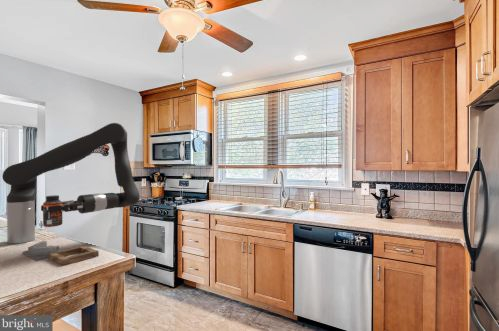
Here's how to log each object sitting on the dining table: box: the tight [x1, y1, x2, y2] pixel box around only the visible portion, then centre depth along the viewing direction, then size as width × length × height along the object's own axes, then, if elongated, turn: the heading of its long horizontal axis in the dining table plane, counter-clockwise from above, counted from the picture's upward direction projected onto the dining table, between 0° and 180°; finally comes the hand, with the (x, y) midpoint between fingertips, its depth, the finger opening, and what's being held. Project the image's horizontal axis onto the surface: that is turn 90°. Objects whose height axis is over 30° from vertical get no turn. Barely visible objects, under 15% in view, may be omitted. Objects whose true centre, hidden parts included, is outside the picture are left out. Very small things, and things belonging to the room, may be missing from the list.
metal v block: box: [22, 240, 63, 262], centre depth 100 cm, size 15×9×3 cm, turn 55°
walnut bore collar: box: [48, 245, 100, 266], centre depth 96 cm, size 12×11×2 cm
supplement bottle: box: [42, 194, 64, 228], centre depth 103 cm, size 6×6×11 cm
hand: (44, 209), depth 101 cm, fingers closed on supplement bottle, 6 cm apart
